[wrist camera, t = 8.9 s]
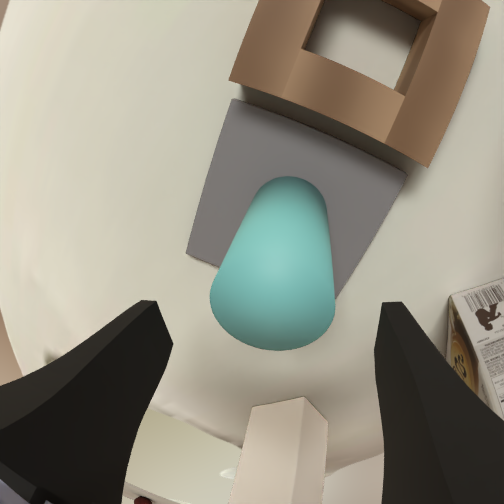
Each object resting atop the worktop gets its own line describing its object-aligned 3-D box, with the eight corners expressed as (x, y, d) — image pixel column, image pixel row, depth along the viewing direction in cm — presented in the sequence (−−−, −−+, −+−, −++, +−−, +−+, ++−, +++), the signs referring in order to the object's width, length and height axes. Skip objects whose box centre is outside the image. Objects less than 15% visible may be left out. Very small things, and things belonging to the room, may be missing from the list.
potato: (134, 494, 86) (130, 505, 81) (140, 493, 81) (135, 506, 76) (150, 501, 87) (146, 512, 82) (157, 501, 82) (153, 513, 77)
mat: (404, 172, 15) (407, 175, 14) (328, 303, 20) (328, 309, 20) (234, 98, 15) (231, 98, 14) (188, 248, 20) (185, 253, 20)
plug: (330, 179, 15) (344, 259, 9) (323, 248, 18) (325, 355, 11) (251, 174, 16) (204, 248, 9) (251, 242, 18) (215, 343, 11)
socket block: (469, 14, 9) (490, 7, 7) (412, 156, 14) (427, 168, 12) (301, -64, 9) (299, -84, 7) (240, 81, 14) (228, 80, 12)
